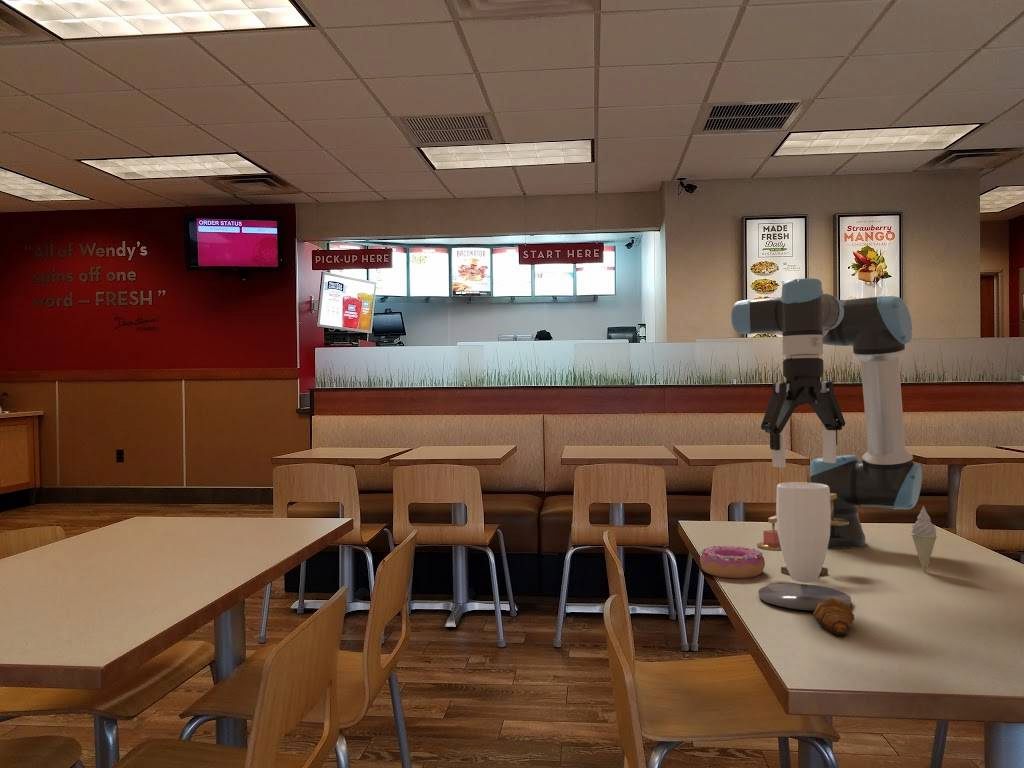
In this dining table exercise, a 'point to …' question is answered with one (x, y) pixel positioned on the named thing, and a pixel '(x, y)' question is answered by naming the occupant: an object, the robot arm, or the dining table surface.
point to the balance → (772, 537)
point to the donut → (732, 561)
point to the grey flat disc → (800, 595)
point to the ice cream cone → (924, 537)
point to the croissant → (834, 616)
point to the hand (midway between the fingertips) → (804, 464)
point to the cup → (803, 527)
